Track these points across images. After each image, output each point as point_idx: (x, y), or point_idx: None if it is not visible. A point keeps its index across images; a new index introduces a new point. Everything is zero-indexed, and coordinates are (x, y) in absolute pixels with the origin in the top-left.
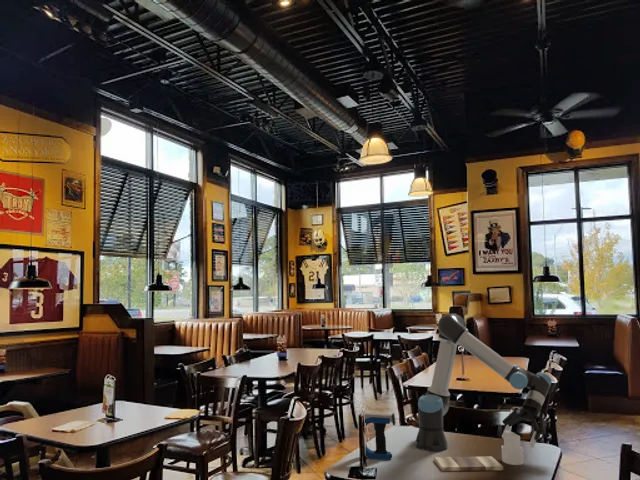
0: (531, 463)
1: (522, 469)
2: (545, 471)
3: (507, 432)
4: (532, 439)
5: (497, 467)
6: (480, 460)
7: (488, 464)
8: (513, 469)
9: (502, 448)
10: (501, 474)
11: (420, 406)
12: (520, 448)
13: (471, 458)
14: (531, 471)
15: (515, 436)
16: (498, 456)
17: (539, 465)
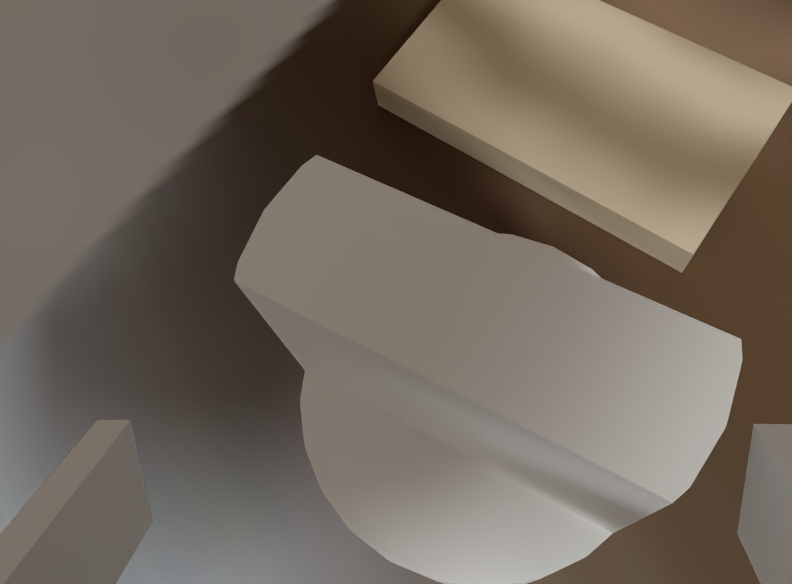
0: (273, 571)
1: None
2: (35, 425)
3: (592, 303)
4: (45, 484)
5: (412, 44)
6: (652, 38)
7: (509, 13)
8: None
9: (568, 261)
10: (325, 8)
11: None
12: (298, 358)
13: (764, 14)
14: (153, 299)
15: (291, 182)
16: (735, 472)
17: (164, 581)
